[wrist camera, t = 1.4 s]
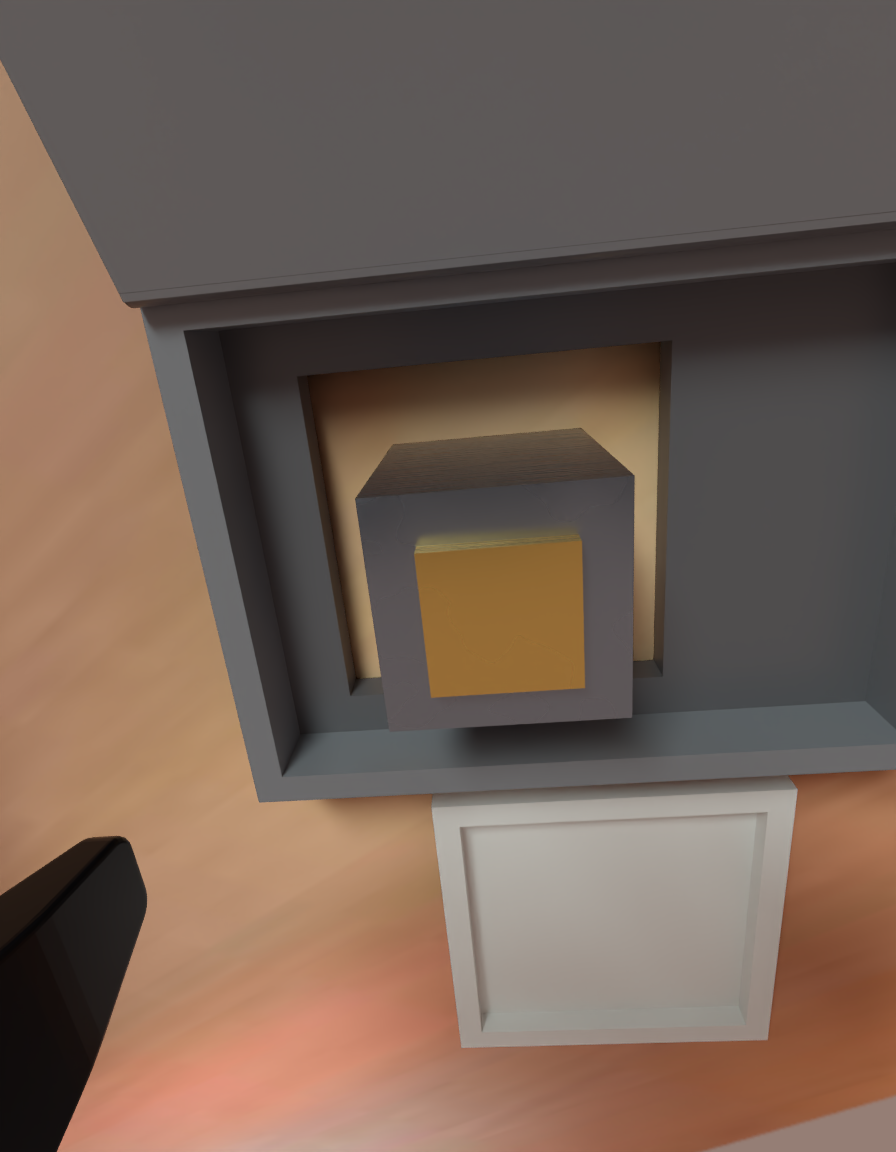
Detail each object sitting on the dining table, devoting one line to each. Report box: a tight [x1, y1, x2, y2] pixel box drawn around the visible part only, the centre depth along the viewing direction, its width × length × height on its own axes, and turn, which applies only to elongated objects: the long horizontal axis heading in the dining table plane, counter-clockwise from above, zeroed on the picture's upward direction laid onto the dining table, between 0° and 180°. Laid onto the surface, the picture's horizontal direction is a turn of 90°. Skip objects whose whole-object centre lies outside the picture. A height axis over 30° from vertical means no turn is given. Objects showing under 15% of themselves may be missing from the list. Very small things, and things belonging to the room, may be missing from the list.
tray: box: [431, 775, 798, 1048], centre depth 22 cm, size 11×11×1 cm
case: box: [0, 0, 896, 802], centre depth 11 cm, size 18×24×10 cm
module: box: [355, 428, 634, 732], centre depth 15 cm, size 5×5×6 cm
